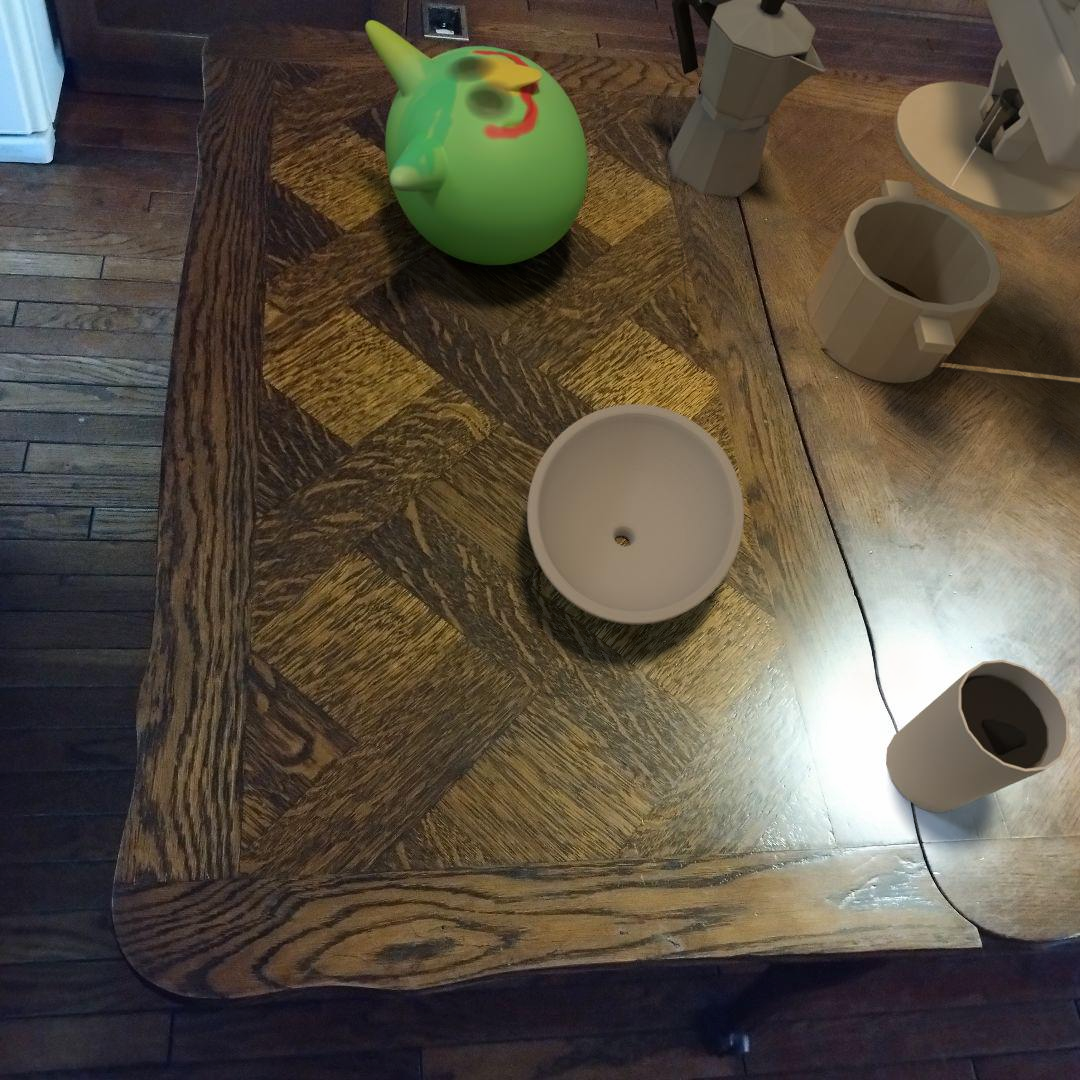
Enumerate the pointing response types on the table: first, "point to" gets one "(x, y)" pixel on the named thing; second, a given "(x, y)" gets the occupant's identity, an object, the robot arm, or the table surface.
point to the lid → (978, 152)
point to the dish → (635, 514)
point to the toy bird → (481, 150)
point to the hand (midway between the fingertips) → (995, 137)
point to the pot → (914, 262)
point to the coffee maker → (737, 87)
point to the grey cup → (979, 737)
